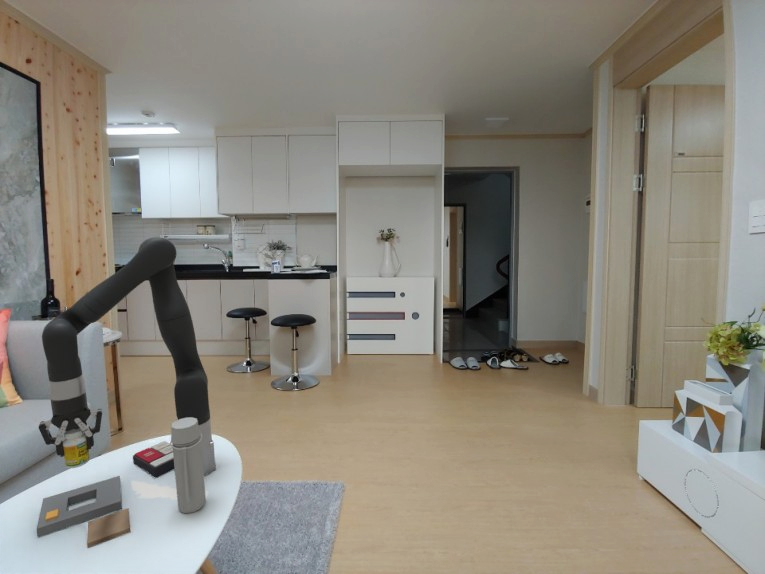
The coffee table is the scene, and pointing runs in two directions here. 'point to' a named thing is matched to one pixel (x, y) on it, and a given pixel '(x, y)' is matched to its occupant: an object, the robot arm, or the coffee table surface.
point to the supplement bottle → (75, 448)
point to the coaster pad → (108, 527)
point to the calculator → (156, 459)
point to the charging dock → (60, 517)
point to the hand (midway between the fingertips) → (76, 451)
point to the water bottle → (188, 464)
